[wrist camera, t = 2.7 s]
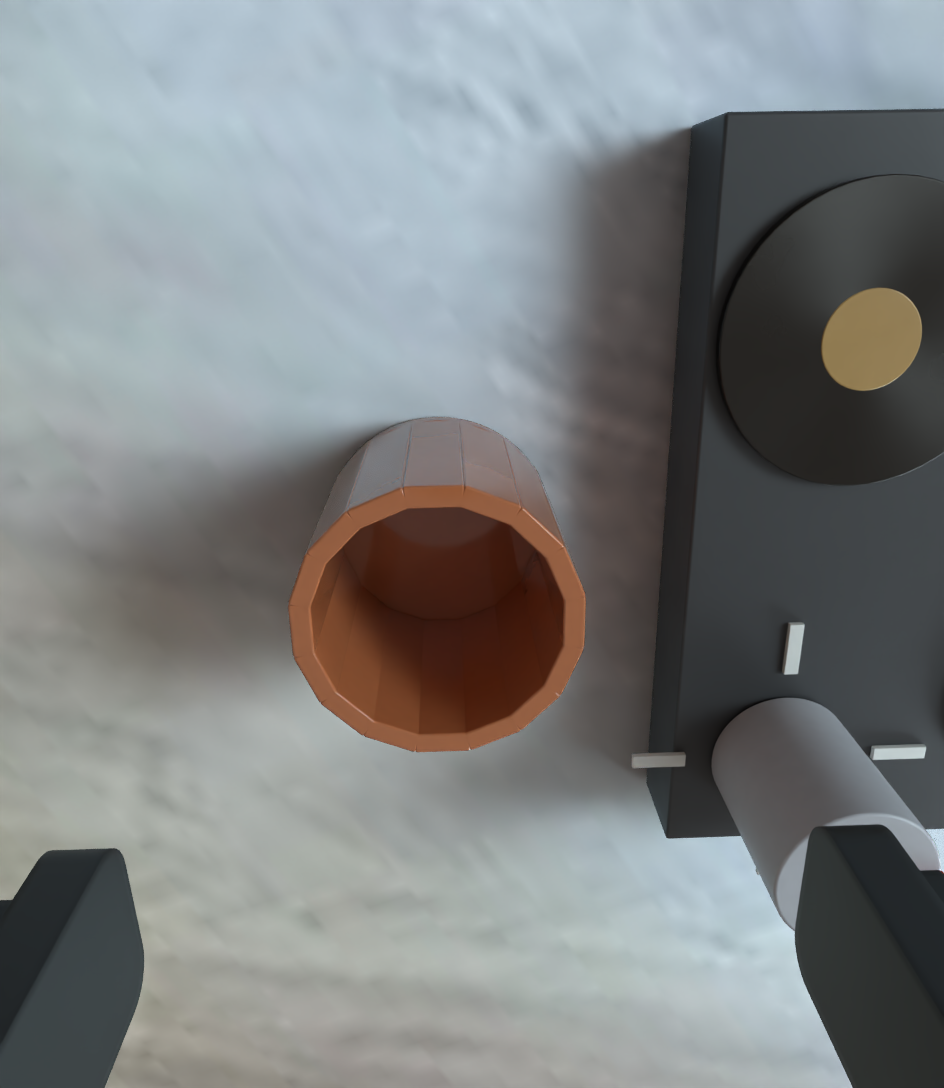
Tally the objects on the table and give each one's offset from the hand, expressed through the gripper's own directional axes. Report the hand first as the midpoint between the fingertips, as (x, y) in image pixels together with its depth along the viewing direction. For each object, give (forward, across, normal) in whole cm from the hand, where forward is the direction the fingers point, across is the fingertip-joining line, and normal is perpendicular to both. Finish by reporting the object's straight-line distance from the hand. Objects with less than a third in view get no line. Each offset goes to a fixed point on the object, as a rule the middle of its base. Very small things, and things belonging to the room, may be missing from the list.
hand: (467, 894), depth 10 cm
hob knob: (+11, -8, +6) cm, 15 cm away
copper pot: (+13, 0, 0) cm, 13 cm away
